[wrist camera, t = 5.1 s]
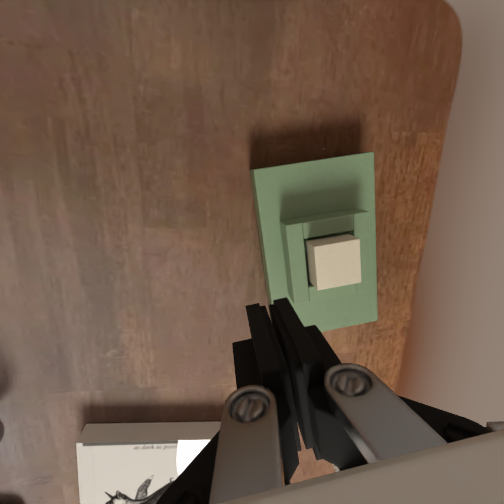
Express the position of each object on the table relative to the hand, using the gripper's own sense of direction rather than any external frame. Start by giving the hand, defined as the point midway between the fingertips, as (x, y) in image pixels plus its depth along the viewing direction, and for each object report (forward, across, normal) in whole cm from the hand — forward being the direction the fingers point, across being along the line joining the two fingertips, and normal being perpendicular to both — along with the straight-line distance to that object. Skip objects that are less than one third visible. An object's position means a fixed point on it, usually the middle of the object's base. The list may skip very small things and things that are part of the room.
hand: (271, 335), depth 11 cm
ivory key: (+9, -6, +1) cm, 11 cm away
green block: (+13, -6, +1) cm, 14 cm away
